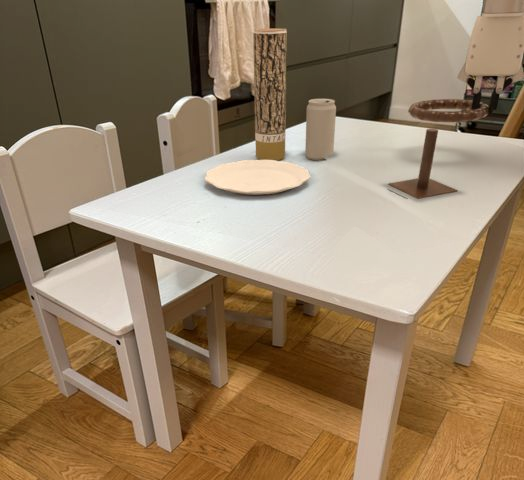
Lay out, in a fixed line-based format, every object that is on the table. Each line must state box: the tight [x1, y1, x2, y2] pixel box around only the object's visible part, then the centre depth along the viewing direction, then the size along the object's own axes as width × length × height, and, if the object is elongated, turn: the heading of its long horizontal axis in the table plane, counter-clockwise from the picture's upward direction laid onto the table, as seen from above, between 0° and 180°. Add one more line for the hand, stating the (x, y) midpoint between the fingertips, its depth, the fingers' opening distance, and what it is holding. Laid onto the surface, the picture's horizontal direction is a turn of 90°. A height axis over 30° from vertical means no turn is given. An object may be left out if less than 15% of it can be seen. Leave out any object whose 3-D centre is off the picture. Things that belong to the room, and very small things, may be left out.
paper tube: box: [252, 28, 288, 161], centre depth 108 cm, size 7×7×25 cm
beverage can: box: [304, 98, 337, 162], centre depth 111 cm, size 6×6×12 cm
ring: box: [407, 98, 489, 123], centre depth 106 cm, size 16×16×2 cm
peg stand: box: [387, 128, 459, 200], centre depth 91 cm, size 9×9×11 cm
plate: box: [204, 159, 311, 196], centre depth 100 cm, size 21×21×2 cm
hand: (482, 113), depth 104 cm, fingers closed on ring, 2 cm apart
